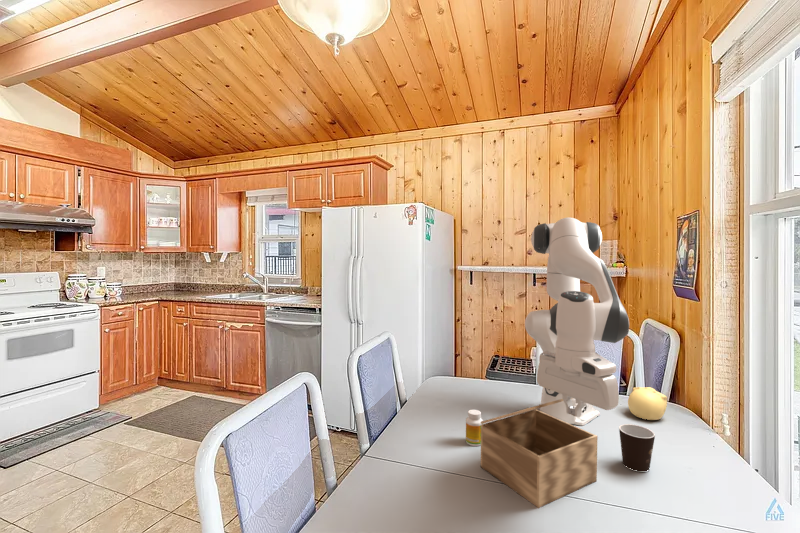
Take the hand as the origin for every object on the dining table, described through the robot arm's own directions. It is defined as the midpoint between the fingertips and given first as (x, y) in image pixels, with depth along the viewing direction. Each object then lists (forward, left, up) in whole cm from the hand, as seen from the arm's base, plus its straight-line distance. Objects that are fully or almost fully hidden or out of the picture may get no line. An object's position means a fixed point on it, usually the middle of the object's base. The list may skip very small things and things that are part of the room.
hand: (573, 414), depth 95 cm
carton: (0, -11, -20) cm, 23 cm away
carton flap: (0, -12, -3) cm, 12 cm away
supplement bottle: (+3, -33, -20) cm, 39 cm away
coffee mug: (-29, 0, -20) cm, 35 cm away
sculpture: (-65, -17, -20) cm, 70 cm away
